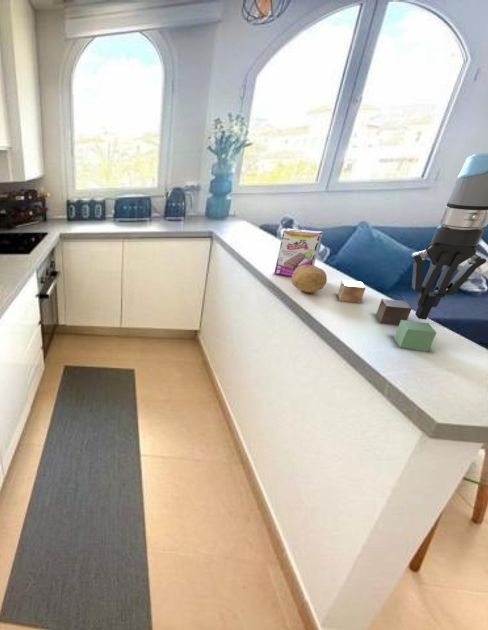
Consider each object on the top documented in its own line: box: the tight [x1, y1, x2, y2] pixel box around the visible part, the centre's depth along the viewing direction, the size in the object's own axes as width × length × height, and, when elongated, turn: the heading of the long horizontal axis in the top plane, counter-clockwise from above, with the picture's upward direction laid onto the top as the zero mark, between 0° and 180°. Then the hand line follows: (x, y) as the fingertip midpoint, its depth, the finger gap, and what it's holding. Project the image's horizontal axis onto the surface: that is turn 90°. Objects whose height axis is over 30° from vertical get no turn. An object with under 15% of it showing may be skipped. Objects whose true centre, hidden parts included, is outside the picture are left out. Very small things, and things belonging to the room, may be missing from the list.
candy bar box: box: [274, 227, 324, 278], centre depth 123 cm, size 11×5×16 cm, turn 46°
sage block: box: [393, 320, 437, 352], centre depth 81 cm, size 5×5×5 cm
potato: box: [291, 264, 328, 293], centre depth 113 cm, size 10×14×8 cm
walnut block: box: [375, 298, 412, 326], centre depth 92 cm, size 5×5×5 cm
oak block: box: [337, 279, 366, 304], centre depth 105 cm, size 5×5×5 cm
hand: (420, 316), depth 90 cm, fingers closed
